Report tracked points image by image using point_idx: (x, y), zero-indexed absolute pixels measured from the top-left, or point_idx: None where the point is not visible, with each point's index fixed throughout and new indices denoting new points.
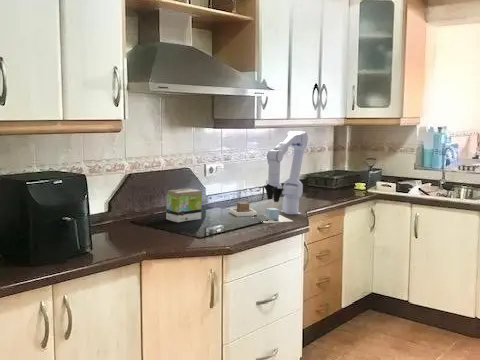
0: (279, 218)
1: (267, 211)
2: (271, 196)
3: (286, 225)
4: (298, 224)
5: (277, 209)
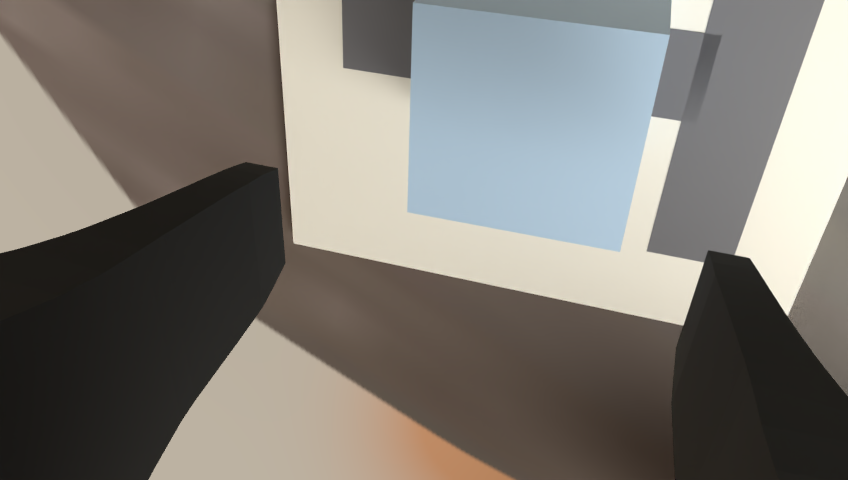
0: None
1: (569, 2)
2: (684, 397)
3: (124, 25)
4: None
5: (442, 200)
